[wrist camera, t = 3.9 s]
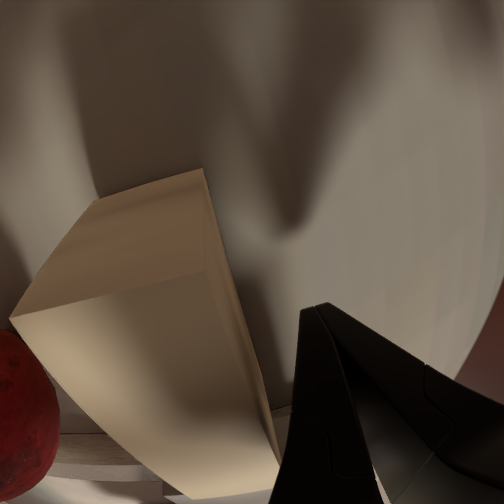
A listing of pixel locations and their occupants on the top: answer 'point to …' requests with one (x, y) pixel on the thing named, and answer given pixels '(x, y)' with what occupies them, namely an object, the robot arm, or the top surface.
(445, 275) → the top surface
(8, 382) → the red round solid
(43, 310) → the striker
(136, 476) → the rail
